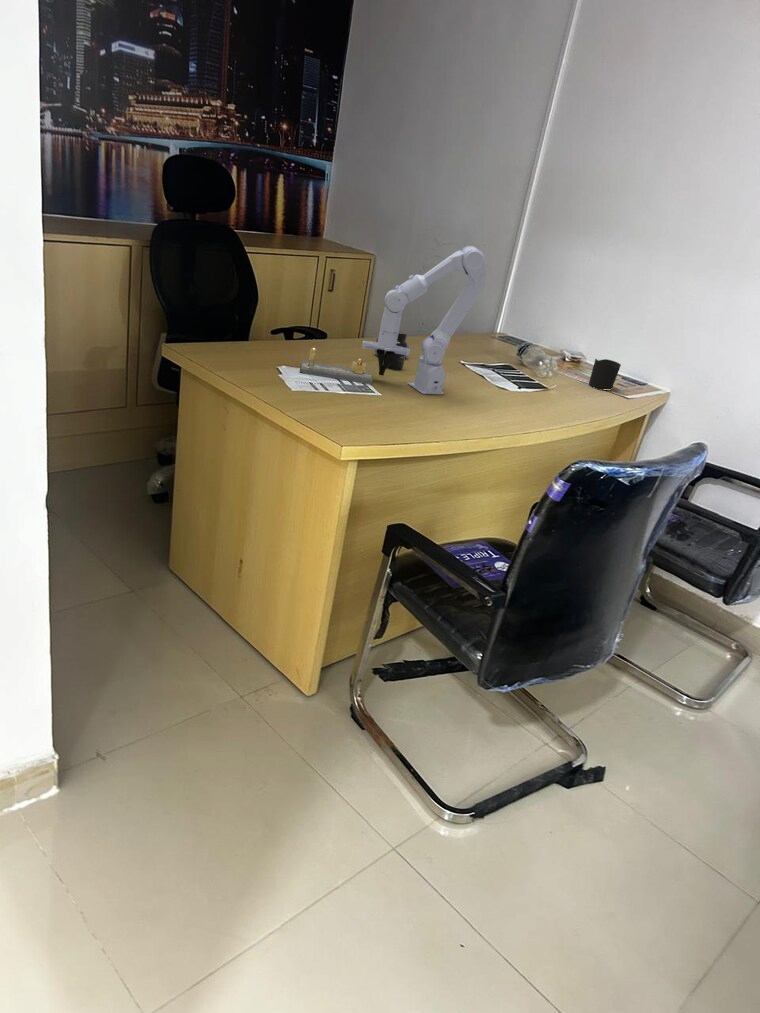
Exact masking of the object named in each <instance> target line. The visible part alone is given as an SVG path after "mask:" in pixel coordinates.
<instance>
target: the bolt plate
mask: <svg viewBox="0 0 760 1013" xmlns="http://www.w3.org/2000/svg"><path fill="white" fill-rule="evenodd" d="M316 355H317V348H316V347H311V348H310V349H309V359H308V360H301V366H300V371H299V373H300V372H302V373H301V374H305V373H308V374H307V375H311V374H312V375H313V376H316V377H317V376H319V377H324V378H328V379H330V378H331V379H336V380H342V381H348V382H354V383H361V384H366V385H373V375H372V373H373V372H372V371H368V370H365V374H359V373H355V372H352V367H351V368H349V367H343V366H338V365H332V364H325V363H320V362H316Z"/></svg>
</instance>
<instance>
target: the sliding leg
mask: <svg viewBox="0 0 760 1013" xmlns="http://www.w3.org/2000/svg"><path fill="white" fill-rule="evenodd" d="M351 369H352V372H355V373H359V374H365V371H367V363H366V362H363V358H361V357H358V358H357V361H354V360H353V361H352V365H351Z"/></svg>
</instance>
